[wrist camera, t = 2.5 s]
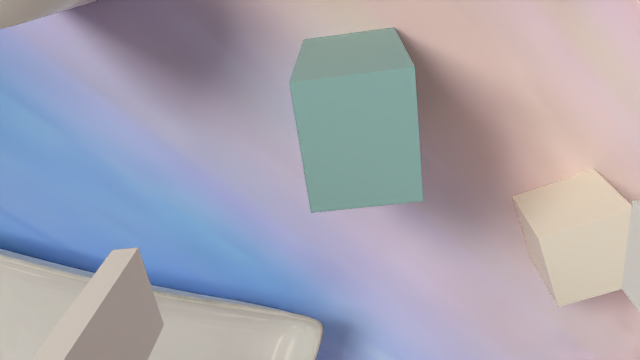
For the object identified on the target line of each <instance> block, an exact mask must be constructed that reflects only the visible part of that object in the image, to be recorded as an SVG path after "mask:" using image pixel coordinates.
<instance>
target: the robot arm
mask: <svg viewBox="0 0 640 360" xmlns="http://www.w3.org/2000/svg"><path fill="white" fill-rule="evenodd" d="M622 290H623V291H624V293H625V294H626V295H627V297H628V298H629V299H630V301H631V302H632V303H633V305H634V306H635V307H636V309H637V310H638V311H639V313H640V200H633V201H632V209H631V217H630V225H629V233H628V241H627V249H626V257H625V265H624V273H623V281H622ZM163 326H164V323H163V320H162V317H161V314H160V311H159V308H158V305H157V302H156V299H155V296H154V293H153V290H152V287H151V284H150V281H149V278H148V275H147V272H146V269H145V266H144V263H143V260H142V257H141V254H140V251H139V248H128V249H117V250H112V251H111V252H110V254H109V255H108V256H107V258H106V259H105V260H104V262H103V263H102V265H101V266H100V267H99V269H98V270H97V271H96V273H95V274H94V275H93V277H92V278H91V279H90V281H89V282H88V283H87V285H86V286H85V287H84V289H83V290H82V292H81V293H80V294H79V296H78V297H77V298H76V300H75V301H74V302H73V304H72V305H71V306H70V308H69V309H68V310H67V312H66V313H65V314H64V316H63V317H62V319H61V320H60V321H59V323H58V324H57V325H56V327H55V328H54V329H53V331H52V332H51V333H50V335H49V336H48V337H47V339H46V340H45V341H44V343H43V344H42V346H41V347H40V348H39V350H38V351H37V352H36V354H35V355H34V356H33V358H32V359H31V360H148V358H149V356H150V354H151V352H152V350H153V348H154V345H155V343H156V341H157V339H158V337H159V335H160V333H161V331H162V328H163Z"/></svg>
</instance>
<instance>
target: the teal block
mask: <svg viewBox="0 0 640 360" xmlns="http://www.w3.org/2000/svg"><path fill="white" fill-rule="evenodd" d="M289 84H290V90H291V96H292V102H293V108H294V114H295V120H296V126H297V132H298V138H299V144H300V150H301V156H302V162H303V168H304V174H305V180H306V185H307V191H308V197H309V203H310V209H311V213H314V212H323V211H333V210H343V209H352V208H362V207H372V206H381V205H391V204H400V203H410V202H420V201H423V188H422V172H421V157H420V141H419V125H418V109H417V93H416V78H415V66H414V64H413V62H412V60H411V58H410V56H409V54H408V53H407V51H406V49H405V47H404V45H403V43H402V41H401V39H400V37H399V35H398V33H397V31H396V29H395V27H393V28H386V29H379V30H371V31H364V32H357V33H349V34H342V35H334V36H327V37H320V38H312V39H305V40H304V41H303V44H302V47H301V50H300V53H299V56H298V59H297V62H296V65H295V67H294V70H293V73H292V76H291V79H290V82H289Z"/></svg>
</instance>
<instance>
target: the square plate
mask: <svg viewBox="0 0 640 360" xmlns="http://www.w3.org/2000/svg"><path fill="white" fill-rule="evenodd" d="M94 274H95V273H93V272H89V271H85V270H81V269H77V268H72V267H68V266H64V265H60V264H56V263H53V262H49V261H45V260H41V259H37V258H34V257H30V256H26V255H22V254H18V253H14V252H11V251H7V250H3V249H0V360H31V359H32V358H33V356H34V355H35V354H36V352H37V351H38V350H39V348H40V347H41V346H42V344H43V343H44V341H45V340H46V339H47V337H48V336H49V335H50V333H51V332H52V331H53V329H54V328H55V327H56V325H57V324H58V323H59V321H60V320H61V319H62V317H63V316H64V314H65V313H66V312H67V310H68V309H69V308H70V306H71V305H72V304H73V302H74V301H75V300H76V298H77V297H78V296H79V294H80V293H81V292H82V290H83V289H84V287H85V286H86V285H87V283H88V282H89V281H90V279H91V278H92V277H93V275H94ZM151 287H152V290H153V293H154V296H155V299H156V302H157V305H158V308H159V311H160V314H161V317H162V320H163V323H164V326H163V328H162V331H161V333H160V335H159V337H158V339H157V341H156V343H155V345H154V348H153V350H152V352H151V354H150V356H149V358H148V360H316V357H317V354H318V351H319V347H320V344H321V340H322V336H323V325H322V323H320V322H319V321H318V320H316V319H314V318H311V317H308V316H304V315H299V314H295V313H291V312H287V311H283V310H279V309H275V308H270V307H266V306H261V305H257V304H252V303H247V302H242V301H237V300H231V299H225V298H219V297H213V296H207V295H201V294H196V293H191V292H185V291H180V290H175V289H170V288H165V287H160V286H155V285H151Z"/></svg>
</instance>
